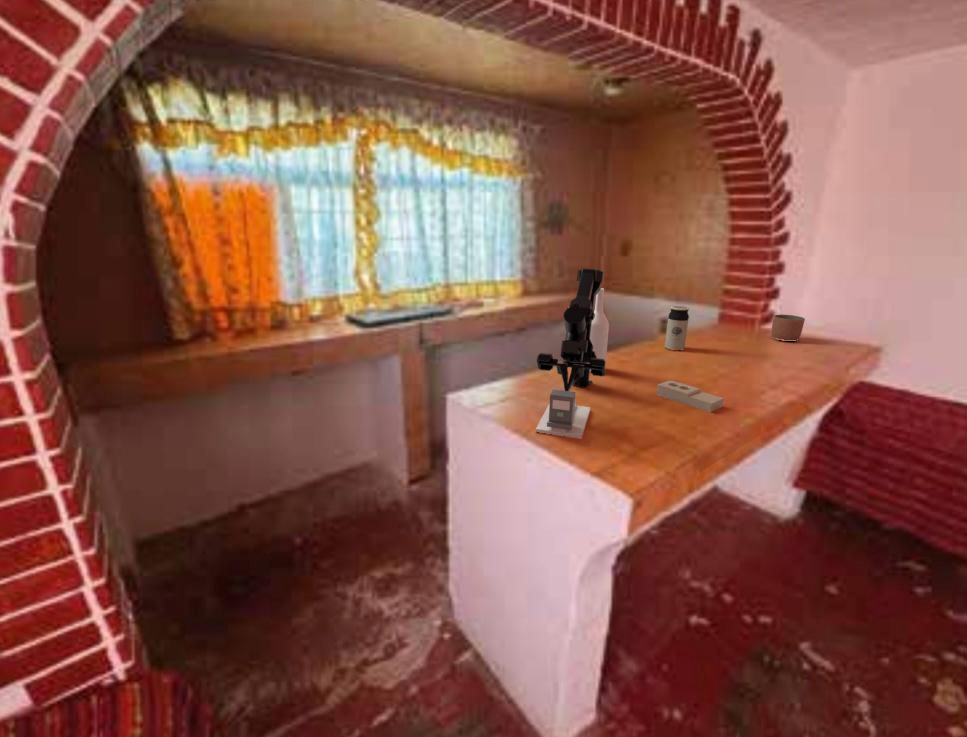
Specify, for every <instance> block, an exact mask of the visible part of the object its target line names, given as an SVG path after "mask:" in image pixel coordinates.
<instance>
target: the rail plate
mask: <svg viewBox="0 0 967 737" xmlns="http://www.w3.org/2000/svg"><path fill="white" fill-rule="evenodd" d="M549 407H550V402H549V404H548V405H547V407H546V409H545V411H544V413H543V415H542V417H540V419H539V422H538V424H537V425H536V428H535V433H536V432H539V433H538V434H543V433H546V434H545V435H550V434H552V436H557V435H558V436H559V437H564V436H565V438H573V439H580V440H582V439H583V436H584V433H585V430H586V426H587V422H588V419H589V416H590V413H591V407H590V406H589V407H588V406H583V405H577V403H576V402H575V408H574V422H573V425H571V424H564V423H556V422H549ZM558 436H557V437H558Z"/></svg>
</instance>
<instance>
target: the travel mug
mask: <svg viewBox="0 0 967 737" xmlns="http://www.w3.org/2000/svg"><path fill="white" fill-rule="evenodd" d="M689 310H690V307H688V306H684V305H683V306H682V305H671V306H670V312H669V313H668V318H667V325H666V332H665V342H664V348H665V347H666V348H669V349H675V350H681V349H684V350H685V348H686V340H687V332H688V325H689V319H690V315H689V313H688V312H689ZM666 348H665V349H666ZM681 351H682V350H681Z"/></svg>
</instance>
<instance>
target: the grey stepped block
mask: <svg viewBox="0 0 967 737" xmlns="http://www.w3.org/2000/svg"><path fill="white" fill-rule="evenodd" d="M656 396H659V397H662V398H665V399H667V400H671V401H674V402H677V403H680V404H683V405H686V406H689V407H692V408H696V409H698V410H702V411H704V412H708V413H713V412H715V411H716V410H719V409H721V408H723V406H724V400H725V399H724V397H721V396H717V395H714V394H711V393H707V392H704V391H701V388H699V387H695V386H692V385H688V384H685V383H683V382H682V383H681V382H679V381H678V382H677V381H675V380H672V379H671V380H666V381H665V382H662V383H658V384H657V388H656Z"/></svg>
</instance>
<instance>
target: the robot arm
mask: <svg viewBox="0 0 967 737" xmlns="http://www.w3.org/2000/svg"><path fill="white" fill-rule="evenodd" d="M604 279H605V272H604V271H602V269H598V268H597V269H596V268H585V267H584V268H581V269H578V270H577V273H576V283H578V287H577V289H576V290H577V292H576V296H575V298H573V299H571V300H570V302H569V305H568V307H566V310H565V311H564V312H563V321H564V328H565V331H566V333H565V338H564V340H561V347H560V358H559V357H558V358H554V357H553V353H544V352H540V353H539V354H538V355H537V356H536V357H537V358H536V363H537V368H538V369H539V370H540V371H547V372H550V371H551V370H553V369H554V367H555V368H556V371H557V372H556V373H557V374H558V375H561V378H562V381H563V382H562V383H563V388H564V391H570V390H571V389H572V387H573V386H574V387H575V386H576V387H581V388H587V387H588V386H590V385H591V384H593V381H592V380H590V374H592V376H595V377H596V376H597V377H605V374H606V365H605V360H604V359H599V358H597V356H596V355H595V351H593V349H594V347H593V345H592V343H591V340H590V334H591V325H592V320H593V319H594V318H595V313H594V311H595V310H594V309H595V301H596V295H597V293H598V292H599V291H600V289H601V288H602V284H604ZM569 368H571V370H570V374H569V370H568V369H569ZM590 369H591V372H590Z"/></svg>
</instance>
